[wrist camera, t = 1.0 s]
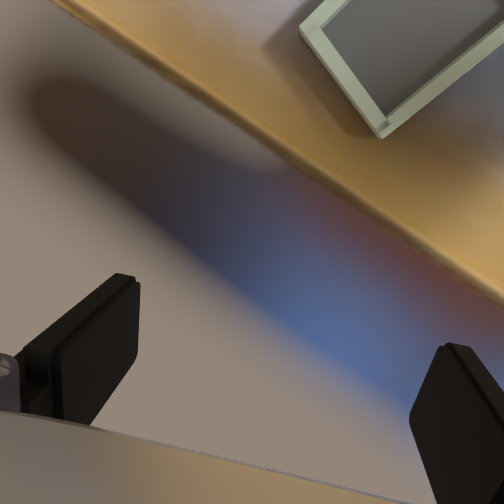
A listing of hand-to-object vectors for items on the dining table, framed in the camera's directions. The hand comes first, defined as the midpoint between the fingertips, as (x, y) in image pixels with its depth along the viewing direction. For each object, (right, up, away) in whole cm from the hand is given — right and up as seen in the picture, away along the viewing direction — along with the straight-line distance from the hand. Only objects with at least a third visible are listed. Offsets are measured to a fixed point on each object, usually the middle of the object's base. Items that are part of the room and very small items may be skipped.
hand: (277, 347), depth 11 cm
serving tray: (+13, +23, +20) cm, 33 cm away
